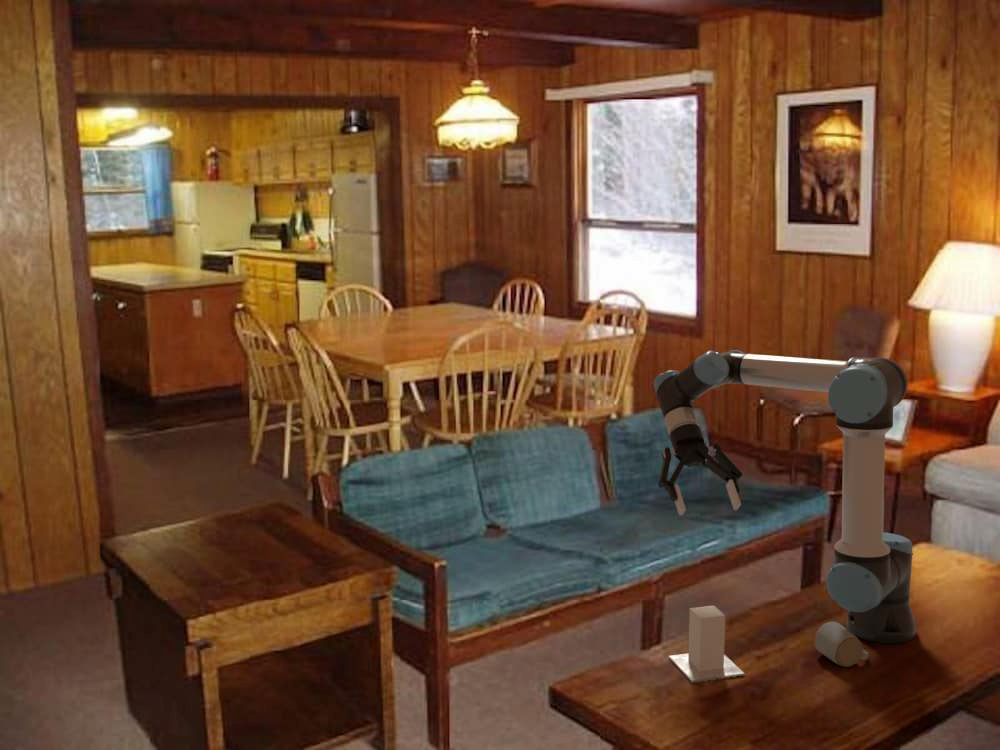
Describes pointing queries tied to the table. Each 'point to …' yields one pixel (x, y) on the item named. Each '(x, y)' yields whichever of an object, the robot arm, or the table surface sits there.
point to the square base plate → (701, 676)
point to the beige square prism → (706, 638)
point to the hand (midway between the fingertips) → (710, 510)
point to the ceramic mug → (839, 644)
